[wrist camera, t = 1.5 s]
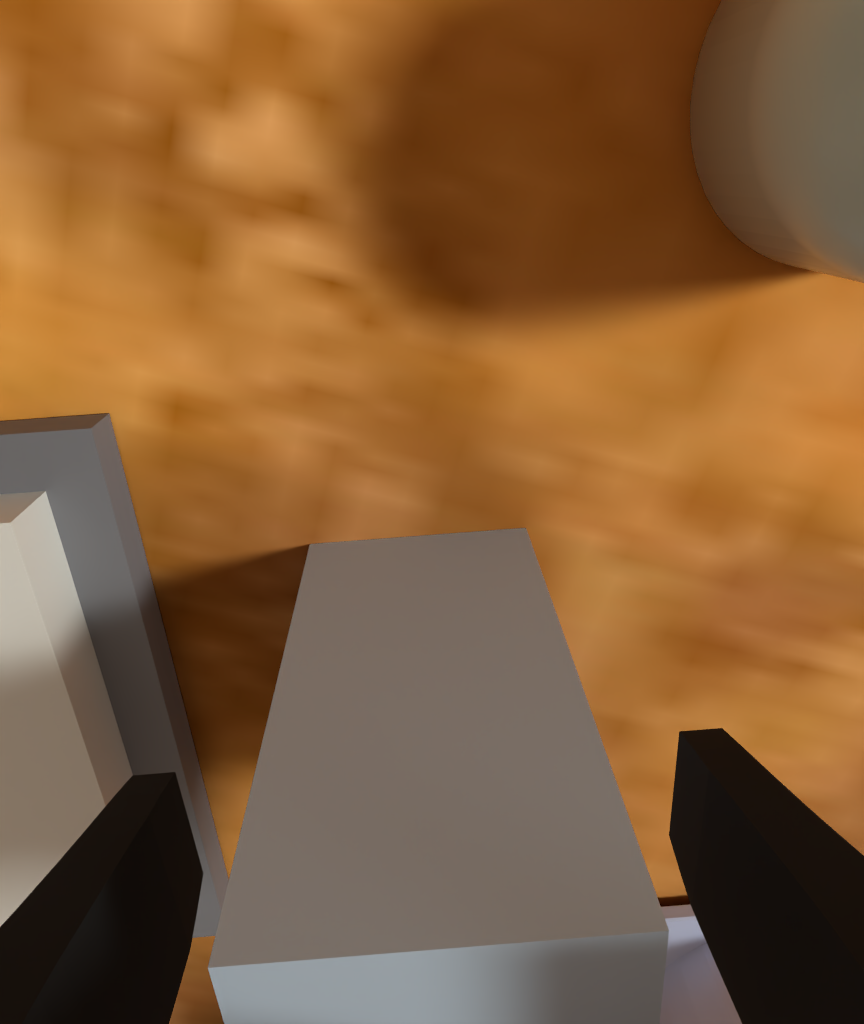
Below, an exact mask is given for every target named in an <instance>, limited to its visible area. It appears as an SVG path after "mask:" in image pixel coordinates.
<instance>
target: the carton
mask: <svg viewBox="0 0 864 1024" xmlns="http://www.w3.org/2000/svg"><path fill="white" fill-rule="evenodd" d="M668 938H669V929H668V926H667V923H666V920H665V917H664V915H663V912H662V909H661V906H660V903H659V901H658V898H657V895H656V892H655V889H654V887H653V884H652V881H651V878H650V875H649V873H648V870H647V867H646V864H645V861H644V858H643V856H642V853H641V850H640V847H639V844H638V842H637V839H636V836H635V833H634V830H633V828H632V825H631V822H630V819H629V816H628V814H627V811H626V808H625V805H624V802H623V799H622V797H621V794H620V791H619V788H618V785H617V783H616V780H615V777H614V774H613V771H612V769H611V766H610V763H609V760H608V757H607V754H606V752H605V749H604V746H603V743H602V740H601V738H600V735H599V732H598V729H597V726H596V724H595V721H594V718H593V715H592V712H591V710H590V707H589V704H588V701H587V698H586V695H585V693H584V690H583V687H582V684H581V681H580V679H579V676H578V673H577V670H576V667H575V665H574V662H573V659H572V656H571V653H570V651H569V648H568V645H567V642H566V639H565V636H564V634H563V631H562V628H561V625H560V622H559V620H558V617H557V614H556V611H555V608H554V606H553V603H552V600H551V597H550V594H549V591H548V589H547V586H546V583H545V580H544V577H543V575H542V572H541V569H540V566H539V563H538V561H537V558H536V555H535V552H534V549H533V547H532V544H531V541H530V538H529V535H528V532H527V530H526V528H518V529H504V530H491V531H478V532H464V533H451V534H438V535H424V536H411V537H398V538H384V539H371V540H358V541H344V542H331V543H318V544H310V545H309V550H308V554H307V558H306V562H305V566H304V570H303V575H302V579H301V583H300V587H299V591H298V595H297V599H296V604H295V608H294V612H293V616H292V620H291V624H290V629H289V633H288V637H287V641H286V645H285V649H284V654H283V658H282V662H281V666H280V670H279V674H278V678H277V683H276V687H275V691H274V695H273V699H272V703H271V708H270V712H269V716H268V720H267V724H266V728H265V732H264V737H263V741H262V745H261V749H260V753H259V757H258V762H257V766H256V770H255V774H254V778H253V782H252V787H251V791H250V795H249V799H248V803H247V807H246V811H245V816H244V820H243V824H242V828H241V832H240V836H239V841H238V845H237V849H236V853H235V857H234V861H233V865H232V870H231V874H230V878H229V882H228V886H227V890H226V895H225V899H224V903H223V907H222V911H221V915H220V920H219V924H218V928H217V932H216V936H215V940H214V944H213V949H212V953H211V957H210V961H209V965H208V970H209V974H210V977H211V980H212V984H213V987H214V991H215V994H216V997H217V1001H218V1004H219V1008H220V1011H221V1014H222V1018H223V1021H224V1024H659V1022H660V1013H661V1004H662V994H663V985H664V975H665V966H666V956H667V947H668Z"/></svg>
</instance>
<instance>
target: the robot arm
mask: <svg viewBox="0 0 864 1024" xmlns="http://www.w3.org/2000/svg"><path fill="white" fill-rule="evenodd" d="M669 836H670V840H671V843H672V846H673V850H674V853H675V856H676V860H677V863H678V866H679V870H680V873H681V876H682V879H683V882H684V885H685V888H686V892H687V895H688V898H689V901H690V904H688V905H676V906H663V907H661V909H662V912H663V915H664V917H665V920H666V923H667V926H668V929H669V938H668V947H667V956H666V966H665V975H664V985H663V994H662V1004H661V1013H660V1022H659V1024H864V856H863V855H862V854H861V853H860V852H859V851H858V850H856V849H855V848H854V847H853V846H852V845H851V844H849V843H848V842H847V841H846V840H845V839H844V838H843V837H841V836H840V835H839V834H838V833H837V832H836V831H834V830H833V829H832V828H831V827H830V826H829V825H828V824H826V823H825V822H824V821H823V820H822V819H821V818H819V817H818V816H817V815H816V814H815V813H814V812H813V811H812V810H811V809H809V808H808V807H807V806H806V805H805V804H804V803H803V802H802V801H801V800H799V799H798V798H797V797H796V796H795V795H794V794H793V793H792V792H791V791H790V790H788V789H787V788H786V787H785V786H784V785H783V784H782V783H781V782H780V781H779V780H778V779H776V778H775V777H774V776H773V775H772V774H771V773H770V772H769V771H768V770H767V769H766V768H765V767H764V766H762V765H761V764H760V763H759V762H758V761H757V760H756V759H755V758H754V757H753V756H752V755H751V754H750V753H748V752H747V751H746V750H745V749H744V748H743V747H742V746H741V745H740V744H739V743H738V742H737V741H735V740H734V739H733V738H732V737H731V736H730V735H729V734H728V733H727V732H726V731H724V730H723V729H722V728H718V729H706V730H693V731H681V732H679V741H678V751H677V761H676V771H675V782H674V792H673V802H672V812H671V822H670V832H669ZM202 879H203V870H202V866H201V863H200V859H199V855H198V852H197V848H196V845H195V841H194V837H193V834H192V830H191V827H190V823H189V819H188V816H187V812H186V809H185V805H184V801H183V798H182V794H181V791H180V787H179V783H178V780H177V776H176V773H175V772H169V773H157V774H144V775H133V776H132V777H131V778H130V779H129V780H128V781H127V782H126V783H125V784H124V786H123V787H122V788H121V789H120V790H119V791H118V792H117V793H116V795H115V796H114V797H113V798H112V799H111V800H110V802H109V803H108V804H107V805H106V806H105V807H104V809H103V810H102V811H101V812H100V813H99V815H98V816H97V817H96V818H95V819H94V820H93V822H92V823H91V824H90V825H89V826H88V827H87V829H86V830H85V831H84V832H83V833H82V835H81V836H80V837H79V838H78V839H77V840H76V842H75V843H74V844H73V845H72V846H71V847H70V849H69V850H68V851H67V852H66V853H65V854H64V856H63V857H62V858H61V859H60V860H59V861H58V863H57V864H56V865H55V866H54V867H53V868H52V869H51V871H50V872H49V873H48V874H47V875H46V876H45V877H44V878H43V880H42V881H41V882H40V883H39V884H38V885H37V886H36V887H35V889H34V890H33V891H32V892H31V893H30V894H29V895H28V896H27V898H26V899H25V900H24V901H23V902H22V903H21V904H20V906H19V907H18V908H17V909H16V910H15V911H14V912H13V913H12V914H11V916H10V917H9V918H8V919H7V920H6V921H5V922H4V923H3V924H2V925H1V926H0V1024H169V1021H170V1018H171V1015H172V1011H173V1008H174V1004H175V1001H176V997H177V994H178V990H179V987H180V983H181V980H182V976H183V973H184V970H185V966H186V962H187V959H188V955H189V952H190V947H191V942H192V937H193V931H194V926H195V921H196V915H197V909H198V903H199V897H200V891H201V885H202Z"/></svg>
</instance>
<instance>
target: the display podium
mask: <svg viewBox="0 0 864 1024" xmlns="http://www.w3.org/2000/svg"><path fill="white" fill-rule="evenodd" d="M169 772H175V773H176V776H177V780H178V783H179V787H180V791H181V794H182V798H183V801H184V805H185V809H186V812H187V816H188V819H189V823H190V827H191V830H192V834H193V837H194V841H195V845H196V848H197V852H198V855H199V859H200V863H201V866H202V870H203V879H202V885H201V891H200V897H199V903H198V909H197V915H196V921H195V926H194V931H193V937H192V938H194V937H206V936H216V932H217V928H218V924H219V920H220V915H221V911H222V907H223V903H224V899H225V895H226V890H227V886H228V882H229V879H228V876H227V872H226V868H225V864H224V860H223V856H222V852H221V848H220V844H219V840H218V836H217V833H216V829H215V825H214V821H213V817H212V813H211V809H210V805H209V801H208V797H207V793H206V790H205V786H204V782H203V778H202V774H201V770H200V766H199V762H198V758H197V754H196V750H195V747H194V743H193V739H192V735H191V731H190V727H189V723H188V719H187V715H186V711H185V707H184V704H183V700H182V696H181V692H180V688H179V684H178V680H177V676H176V672H175V668H174V665H173V661H172V657H171V653H170V649H169V645H168V641H167V637H166V633H165V629H164V625H163V622H162V618H161V614H160V610H159V606H158V602H157V598H156V594H155V590H154V586H153V582H152V579H151V575H150V571H149V567H148V563H147V559H146V555H145V551H144V547H143V543H142V539H141V536H140V532H139V528H138V524H137V520H136V516H135V512H134V508H133V504H132V500H131V496H130V493H129V489H128V485H127V481H126V477H125V473H124V469H123V465H122V461H121V457H120V453H119V450H118V446H117V442H116V438H115V434H114V430H113V426H112V422H111V418H110V414H109V413H107V414H93V415H80V416H66V417H52V418H39V419H25V420H11V421H0V926H1V925H2V924H3V923H4V922H5V921H6V920H7V919H8V918H9V917H10V916H11V914H12V913H13V912H14V911H15V910H16V909H17V908H18V907H19V906H20V904H21V903H22V902H23V901H24V900H25V899H26V898H27V896H28V895H29V894H30V893H31V892H32V891H33V890H34V889H35V887H36V886H37V885H38V884H39V883H40V882H41V881H42V880H43V878H44V877H45V876H46V875H47V874H48V873H49V872H50V871H51V869H52V868H53V867H54V866H55V865H56V864H57V863H58V861H59V860H60V859H61V858H62V857H63V856H64V854H65V853H66V852H67V851H68V850H69V849H70V847H71V846H72V845H73V844H74V843H75V842H76V840H77V839H78V838H79V837H80V836H81V835H82V833H83V832H84V831H85V830H86V829H87V827H88V826H89V825H90V824H91V823H92V822H93V820H94V819H95V818H96V817H97V816H98V815H99V813H100V812H101V811H102V810H103V809H104V807H105V806H106V805H107V804H108V803H109V802H110V800H111V799H112V798H113V797H114V796H115V795H116V793H117V792H118V791H119V790H120V789H121V788H122V787H123V786H124V784H125V783H126V782H127V781H128V780H129V779H130V778H131V777H132V776H133V775H144V774H157V773H169Z"/></svg>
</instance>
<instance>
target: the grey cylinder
mask: <svg viewBox="0 0 864 1024" xmlns="http://www.w3.org/2000/svg"><path fill="white" fill-rule="evenodd" d="M690 135H691V144H692V153H693V157H694V161H695V166H696V170H697V174H698V177H699V179H700V182H701V185H702V187H703V190H704V193H705V195H706V197H707V198H708V200H709V202H710V204H711V206H712V208H713V209H714V211H715V213H716V214H717V215H718V217H719V218H720V219H721V221H722V222H723V223H724V225H725V226H726V227H727V228H728V229H729V230H730V231H731V232H732V233H733V234H734V235H735V236H736V237H737V238H738V239H739V240H740V241H741V242H743V243H744V244H745V245H747V246H748V247H750V248H751V249H753V250H754V251H756V252H757V253H759V254H761V255H763V256H765V257H768V258H770V259H772V260H774V261H777V262H780V263H784V264H787V265H790V266H794V267H798V268H803V269H807V270H811V271H815V272H819V273H824V274H828V275H832V276H836V277H841V278H845V279H849V280H853V281H858V282H862V283H864V0H721V2H720V4H719V6H718V8H717V10H716V13H715V15H714V17H713V19H712V21H711V23H710V25H709V28H708V30H707V33H706V36H705V39H704V42H703V44H702V47H701V50H700V53H699V57H698V62H697V66H696V70H695V74H694V78H693V86H692V94H691V101H690Z"/></svg>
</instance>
